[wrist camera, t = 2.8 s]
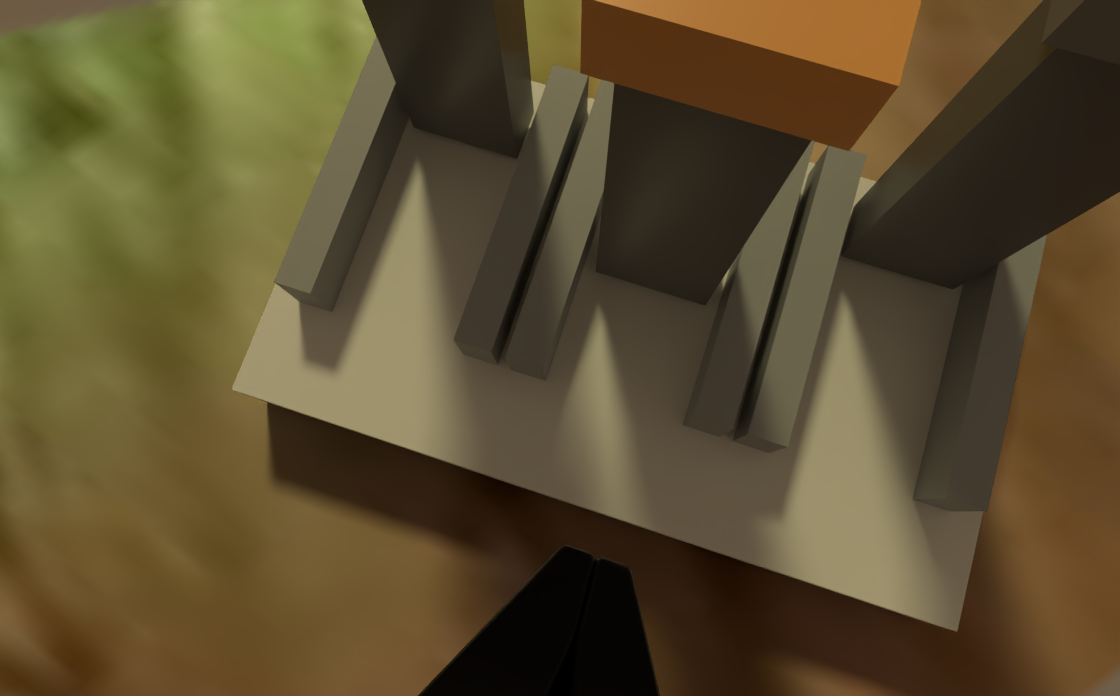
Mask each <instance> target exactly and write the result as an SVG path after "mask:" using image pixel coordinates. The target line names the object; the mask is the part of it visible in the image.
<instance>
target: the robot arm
mask: <svg viewBox="0 0 1120 696" xmlns="http://www.w3.org/2000/svg"><path fill="white" fill-rule="evenodd" d="M418 696H660V694H659V689H658V685H657V680H656V676H655V671H654V667H653V662H652V658H651V653H650V649H649V644H648V640H647V636H646V631H645V627H644V622H643V618H642V613H641V609H640V604H639V600H638V595H637V591H636V586H635V582H634V577H633V573H632V571H631V569H630V568H629V567H628V566H627V565H625V564H622V563H619V562H616V561H613V560H610V559H607V558H605V557H600V558H598V559H597V560H596V561H595V556H594V555H593V554H592V553H590V552H587V551H585V550H582V549H579V548H576V547H573V546H570V545H563V546H562V547H560V548H559V549H558V550H557V551H556V552H555V553H554V554H553V555H552V556H551V557H550V558H549V559H548V560H547V561H546V562H545V564H544V565H543V566H542V567H541V568H540V569H539V570H538V571H537V572H536V573H535V574H534V575H533V576H532V577H531V578H530V579H529V580H528V581H527V582H526V583H525V584H524V585H523V586H522V588H521V589H520V590H519V591H518V592H517V593H516V594H515V595H514V596H513V597H512V598H511V599H510V600H509V601H508V602H507V603H506V604H505V605H504V606H503V607H502V608H501V609H500V610H499V612H498V613H497V614H496V615H495V616H494V617H493V618H492V619H491V620H490V621H489V622H488V623H487V624H486V625H485V626H484V627H483V628H482V629H481V630H480V631H479V632H478V633H477V634H476V636H475V637H474V638H473V639H472V640H471V641H470V642H469V643H468V644H467V645H466V646H465V647H464V648H463V649H462V650H461V651H460V652H459V653H458V654H457V655H456V656H455V657H454V658H453V659H452V661H451V662H450V663H449V664H448V665H447V666H446V667H445V668H444V669H443V670H442V671H441V672H440V673H439V674H438V675H437V676H436V677H435V678H434V679H433V680H432V681H431V682H430V683H429V685H428V686H427V687H426V688H425V689H424V690H423V691H422V692H421V693H420V694H419V695H418Z"/></svg>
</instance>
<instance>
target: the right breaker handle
mask: <svg viewBox="0 0 1120 696" xmlns="http://www.w3.org/2000/svg"><path fill="white" fill-rule="evenodd" d="M1118 192H1120V0H1043V1H1042V2H1041V3H1040V5H1039V6H1038V7H1037V8H1036V9H1035V10H1034V11H1033V12H1032V13H1031V14H1030V15H1029V17H1028V18H1027V19H1026V20H1025V21H1024V22H1023V23H1022V24H1021V25H1020V26H1019V27H1018V28H1017V30H1016V31H1015V32H1014V33H1013V34H1012V35H1011V36H1010V37H1009V38H1008V39H1007V40H1006V42H1005V43H1004V44H1003V45H1002V46H1001V47H1000V48H999V49H998V50H997V51H996V52H995V54H994V55H993V56H992V57H991V58H990V59H989V60H988V61H987V62H986V63H985V64H984V65H983V67H982V68H981V69H980V70H979V71H978V72H977V73H976V74H975V75H974V76H973V77H972V79H971V80H970V81H969V82H968V83H967V84H966V85H965V86H964V87H963V88H962V89H961V90H960V92H959V93H958V94H957V95H956V96H955V97H954V98H953V99H952V100H951V101H950V102H949V104H948V105H947V106H946V107H945V108H944V109H943V110H942V111H941V112H940V113H939V114H938V116H937V117H936V118H935V119H934V120H933V121H932V122H931V123H930V124H929V125H928V126H927V127H926V129H925V130H924V131H923V132H922V133H921V134H920V135H919V136H918V137H917V138H916V139H915V141H914V142H913V143H912V144H911V145H910V146H909V147H908V148H907V149H906V150H905V151H904V152H903V154H902V155H901V156H900V157H899V158H898V159H897V160H896V161H895V162H894V163H893V164H892V166H891V167H890V168H889V169H888V170H887V171H886V172H885V173H884V174H883V175H882V176H881V178H880V179H879V180H878V181H877V182H876V183H875V184H874V185H873V186H872V187H871V188H870V189H869V191H868V192H867V193H866V194H865V195H864V196H863V197H862V198H861V199H860V200H859V201H858V203H857V204H856V205H855V206H854V207H853V211H852V215H851V218H850V222H849V226H848V229H847V233H846V237H845V241H844V244H843V248H842V252H841V255H840V256H843V257H846V258H849V259H853V260H856V261H859V262H863V263H866V264H869V265H873V266H876V267H879V268H883V269H886V270H889V271H893V272H896V273H899V274H903V275H906V276H909V277H913V278H916V279H919V280H923V281H926V282H929V283H932V284H936V285H939V286H942V287H946V288H949V289H952V290H953V289H955V288H957V287H958V286H960V285H962V284H963V283H965V282H967V281H969V280H970V279H972V278H974V277H975V276H977V275H979V274H980V273H982V272H984V271H986V270H987V269H989V268H991V267H992V266H994V265H996V264H997V263H999V262H1001V261H1003V260H1004V259H1006V258H1008V257H1009V256H1011V255H1013V254H1014V253H1016V252H1018V251H1020V250H1021V249H1023V248H1025V247H1026V246H1028V245H1030V244H1032V243H1033V242H1035V241H1037V240H1038V239H1040V238H1042V237H1043V236H1045V235H1047V234H1049V233H1050V232H1052V231H1054V230H1055V229H1057V228H1059V227H1060V226H1062V225H1064V224H1066V223H1067V222H1069V221H1071V220H1072V219H1074V218H1076V217H1077V216H1079V215H1081V214H1083V213H1084V212H1086V211H1088V210H1089V209H1091V208H1093V207H1095V206H1096V205H1098V204H1100V203H1101V202H1103V201H1105V200H1106V199H1108V198H1110V197H1112V196H1113V195H1115V194H1117V193H1118Z"/></svg>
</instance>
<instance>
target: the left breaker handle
mask: <svg viewBox="0 0 1120 696" xmlns="http://www.w3.org/2000/svg"><path fill="white" fill-rule="evenodd" d="M362 1H363V4H364V6H365V9H366V11H367V14H368V16H369V18H370V21H371V23H372V26H373V28H374V31H375V33H376V36H377V38H378V41H379V43H380V45H381V48H382V50H383V53H384V55H385V58H386V60H387V63H388V65H389V68H390V70H391V72H392V75H393V77H394V80H395V82H396V85H397V87H398V90H399V92H400V95H401V97H402V99H403V102H404V104H405V107H406V109H407V112H408V114H409V117H410V119H411V122H412V124H413V126H414V128H417V129H420V130H424V131H427V132H430V133H434V134H437V135H440V136H443V137H447V138H450V139H453V140H457V141H460V142H463V143H467V144H470V145H473V146H477V147H480V148H483V149H487V150H490V151H493V152H497V153H500V154H503V155H507V156H510V157H513V158H518V155H519V152H520V149H521V147H522V144H523V141H524V138H525V136H526V133H527V130H528V127H529V125H530V122H531V119H532V116H533V114H534V107H533V96H532V86H531V75H530V64H529V53H528V42H527V32H526V21H525V10H524V0H362Z"/></svg>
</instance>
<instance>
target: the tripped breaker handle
mask: <svg viewBox="0 0 1120 696" xmlns="http://www.w3.org/2000/svg"><path fill="white" fill-rule="evenodd" d="M920 4H921V0H582V20H581V69H580V73H581V74H584V75H588V76H591V77H595V78H598V79H601V80H605V81H608V82H612V83H614V92H613V102H612V112H611V122H610V132H609V142H608V152H607V162H606V172H605V182H604V192H603V202H602V212H601V222H600V232H599V242H598V252H597V262H596V272H598V273H601V274H605V275H608V276H611V277H614V278H617V279H621V280H624V281H627V282H630V283H634V284H637V285H640V286H643V287H647V288H650V289H653V290H656V291H659V292H663V293H666V294H669V295H672V296H676V297H679V298H682V299H685V300H689V301H692V302H695V303H698V304H701V305H706V304H707V302H708V301H709V299H710V298H711V296H712V295H713V293H714V291H715V290H716V288H717V287H718V285H719V284H720V282H721V281H722V279H723V277H724V276H725V274H726V273H727V271H728V270H729V268H730V267H731V265H732V263H733V262H734V260H735V259H736V257H737V256H738V254H739V253H740V251H741V250H742V248H743V246H744V245H745V243H746V242H747V240H748V239H749V237H750V236H751V234H752V232H753V231H754V229H755V228H756V226H757V225H758V223H759V222H760V220H761V218H762V217H763V215H764V214H765V212H766V211H767V209H768V208H769V206H770V204H771V203H772V201H773V200H774V198H775V197H776V195H777V194H778V192H779V190H780V189H781V187H782V186H783V184H784V183H785V181H786V180H787V178H788V177H789V175H790V173H791V172H792V170H793V169H794V167H795V166H796V164H797V163H798V161H799V159H800V158H801V156H802V155H803V153H804V152H805V150H806V149H807V147H808V145H809V144H810V142H811V141H815V142H819V143H822V144H826V145H829V146H832V147H836V148H839V149H843V150H846V151H849V150H850V149H851V148H852V146H853V145H854V144H855V142H856V141H857V140H858V139H859V137H860V136H861V135H862V133H863V132H864V131H865V129H866V128H867V127H868V125H869V124H870V123H871V122H872V120H873V119H874V118H875V116H876V115H877V114H878V112H879V111H880V110H881V108H882V107H883V106H884V105H885V103H886V102H887V101H888V99H889V98H890V97H891V95H892V94H893V93H894V92H895V90H896V89H897V88H898V86H899V83H900V79H901V75H902V72H903V68H904V64H905V60H906V57H907V53H908V49H909V45H910V42H911V38H912V34H913V30H914V27H915V23H916V19H917V15H918V11H919V8H920Z"/></svg>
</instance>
